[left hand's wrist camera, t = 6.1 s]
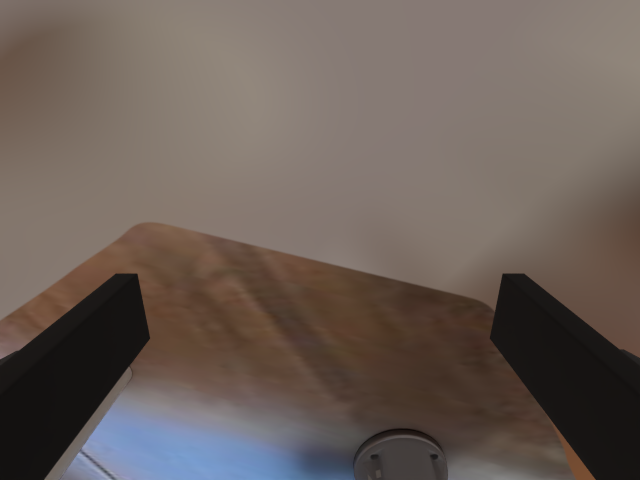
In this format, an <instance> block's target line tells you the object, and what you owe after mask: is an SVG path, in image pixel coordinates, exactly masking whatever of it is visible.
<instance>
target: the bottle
mask: <svg viewBox="0 0 640 480" xmlns="http://www.w3.org/2000/svg"><path fill="white" fill-rule="evenodd" d="M131 377H132V371H131V368H130V367H128V368H127V370H126V371H125V372H124V374H123V375H122V376H121V378H120V379H119V380H118V382H117V383H116V384H115V386H114V387H113V388H112V390H111V391H110V392H109V394H108V395H107V396H106V398H105V399H104V401H103V402H102V403H101V405H100V406H99V407H98V409H97V410H96V411H95V413H94V414H93V415H92V417H91V418H90V419H89V421H88V422H87V423H86V425H85V426H84V427H83V429H82V430H81V431H80V433H79V434H78V435H77V437H76V438H75V439H74V441H73V442H72V443H71V445H70V446H69V447H68V449H67V450H66V451H65V453H64V454H63V455H62V457H61V458H60V459H59V461H58V462H57V463H56V465H55V466H54V467H53V469H52V470H51V471H50V473H49V474H48V475H47V477H46V478H45V479H44V480H59V479H60V478H61V477H62V475H63V474H64V472H65V471H66V470H67V468H68V467H69V465H70V464H71V462H72V461H73V460H74V458H75V457H76V455H77V454H78V453H79V451H80V450H81V448H82V447H83V445H84V444H85V443H86V441H87V440H88V438H89V437H90V436H91V434H92V433H93V431H94V430H95V429H96V427H97V426H98V424H99V423H100V421H101V420H102V419H103V417H104V416H105V414H106V413H107V412H108V410H109V409H110V407H111V406H112V405H113V403H114V402H115V400H116V399H117V397H118V396H119V395H120V393H121V392H122V390H123V389H124V388H125V386H126V385H127V383H128V382H129V381H130V379H131Z"/></svg>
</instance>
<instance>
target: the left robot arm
mask: <svg viewBox="0 0 640 480" xmlns="http://www.w3.org/2000/svg"><path fill="white" fill-rule="evenodd" d="M149 339H150V336H149V331H148V325H147V320H146V315H145V310H144V305H143V300H142V295H141V290H140V285H139V280H138V275H137V274H115V275H114V276H112V277H111V278H110V279H109V280H107V281H106V282H105V283H104V284H102V285H101V286H100V287H99V288H97V289H96V290H95V291H94V292H92V293H91V294H90V295H88V296H87V297H86V298H85V299H83V300H82V301H81V302H80V303H78V304H77V305H76V306H75V307H73V308H72V309H71V310H70V311H68V312H67V313H66V314H65V315H63V316H62V317H61V318H60V319H58V320H57V321H56V322H55V323H53V324H52V325H51V326H50V327H48V328H47V329H46V330H44V331H43V332H42V333H41V334H39V335H38V336H37V337H36V338H34V339H33V340H32V341H31V342H29V343H28V344H27V345H26V346H24V347H23V348H22V349H21V350H19V351H15V352H14V353H12V354H10V355H8V356H6V357H4V358H2V359H0V480H44V479H45V478H46V477H47V475H48V474H49V473H50V471H51V470H52V469H53V467H54V466H55V465H56V463H57V462H58V461H59V459H60V458H61V457H62V455H63V454H64V453H65V451H66V450H67V449H68V447H69V446H70V445H71V443H72V442H73V441H74V439H75V438H76V437H77V435H78V434H79V433H80V431H81V430H82V429H83V427H84V426H85V425H86V423H87V422H88V421H89V419H90V418H91V417H92V415H93V414H94V413H95V411H96V410H97V409H98V407H99V406H100V405H101V403H102V402H103V401H104V399H105V398H106V396H107V395H108V394H109V392H110V391H111V390H112V388H113V387H114V386H115V384H116V383H117V382H118V380H119V379H120V378H121V376H122V375H123V374H124V372H125V371H126V370H127V368H128V367H129V366H130V364H131V363H132V362H133V360H134V359H135V358H136V356H137V355H138V354H139V352H140V351H141V350H142V348H143V347H144V346H145V344H146V343H147V342H148V340H149ZM490 339H491V340H492V342H493V343H494V344H495V346H496V347H497V348H498V350H499V351H500V352H501V354H502V355H503V356H504V358H505V359H506V360H507V362H508V363H509V364H510V366H511V367H512V368H513V370H514V371H515V372H516V374H517V375H518V376H519V378H520V379H521V380H522V382H523V383H524V384H525V386H526V387H527V388H528V390H529V391H530V392H531V394H532V395H533V396H534V398H535V399H536V401H537V402H538V403H539V405H540V406H541V407H542V409H543V410H544V411H545V413H546V414H547V415H548V417H549V418H550V419H551V421H552V422H553V423H554V424H555V426H556V427H557V429H558V430H559V431H560V433H561V434H562V435H563V436H564V438H565V439H566V441H567V442H568V443H569V445H570V446H571V447H572V449H573V450H574V451H575V453H576V454H577V455H578V457H579V458H580V459H581V461H582V462H583V463H584V465H585V466H586V467H587V469H588V470H589V471H590V473H591V474H592V475H593V477H594V478H595V479H596V480H640V358H639V357H637V356H635V355H633V354H631V353H629V352H627V351H625V350H619V349H618V348H617V347H616V346H614V345H613V344H612V343H611V342H609V341H608V340H607V339H606V338H604V337H603V336H602V335H601V334H599V333H598V332H597V331H596V330H594V329H593V328H592V327H590V326H589V325H588V324H587V323H585V322H584V321H583V320H582V319H580V318H579V317H578V316H577V315H575V314H574V313H573V312H572V311H570V310H569V309H568V308H567V307H565V306H564V305H563V304H562V303H560V302H559V301H558V300H557V299H555V298H554V297H553V296H551V295H550V294H549V293H548V292H546V291H545V290H544V289H543V288H541V287H540V286H539V285H538V284H536V283H535V282H534V281H533V280H531V279H530V278H529V277H528V276H526V275H525V274H503V275H502V280H501V285H500V290H499V295H498V300H497V305H496V310H495V315H494V320H493V325H492V331H491V336H490ZM354 475H355V480H448V470H447V463H446V460H445V457H444V454H443V451H442V449H441V447H440V446H439V444H438V443H437V442H436V441H435V440H434V439H432V438H431V437H429V436H427V435H425V434H423V433H420V432H417V431H412V430H392V431H387V432H384V433H381V434H378V435H376V436H374V437H372V438H371V439H369V440H368V441H366V442H365V443H364V444H363V445H362V446H361V447H360V448H359V450H358V451H357V453H356V455H355V458H354Z"/></svg>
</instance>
